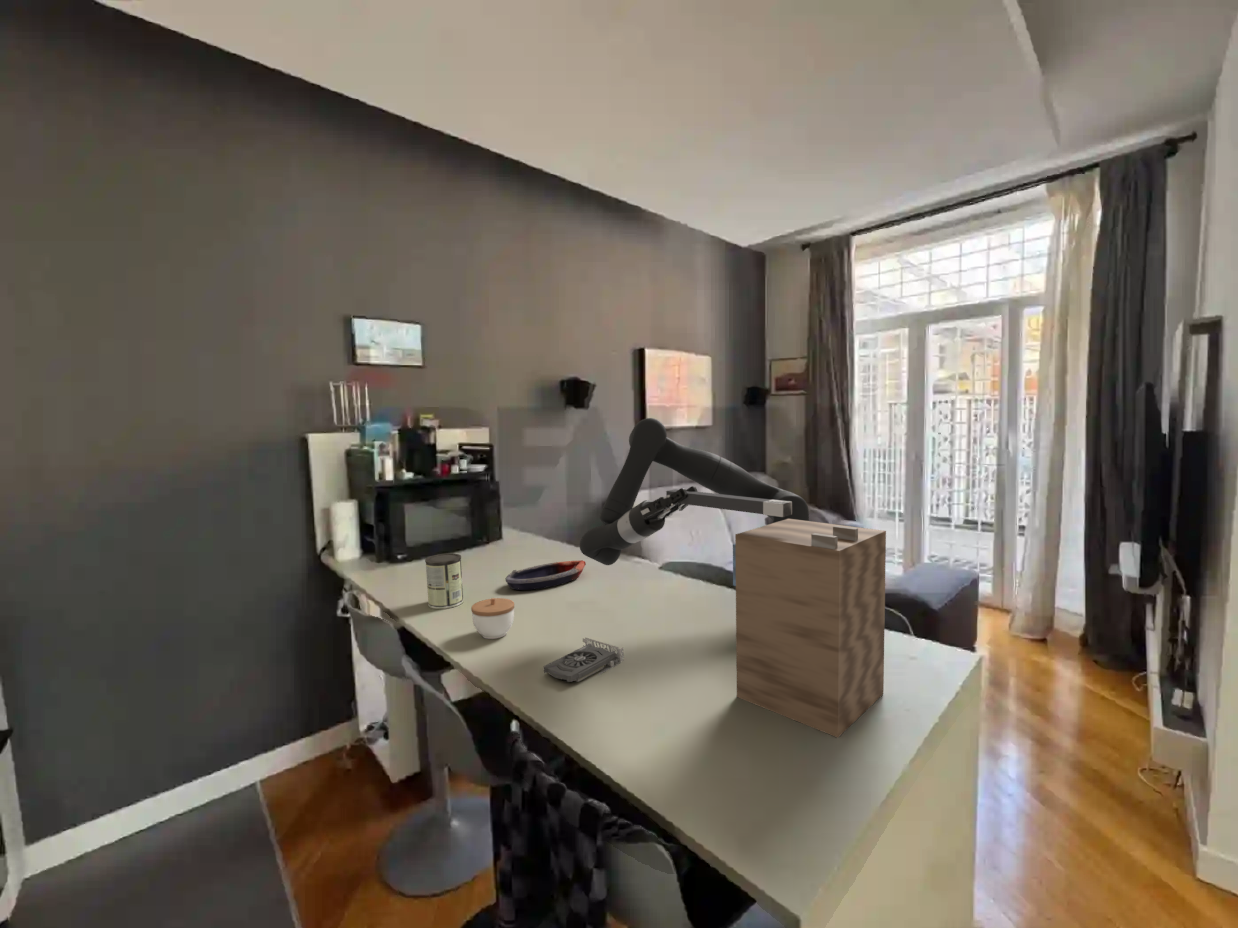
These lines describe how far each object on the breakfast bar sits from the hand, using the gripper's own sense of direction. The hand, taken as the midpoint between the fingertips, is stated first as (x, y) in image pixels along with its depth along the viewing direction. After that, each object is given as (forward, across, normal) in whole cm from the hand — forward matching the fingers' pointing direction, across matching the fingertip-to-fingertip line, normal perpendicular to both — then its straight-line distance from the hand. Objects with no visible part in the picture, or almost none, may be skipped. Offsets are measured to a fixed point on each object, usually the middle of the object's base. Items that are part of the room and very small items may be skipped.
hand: (690, 491), depth 118 cm
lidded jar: (-61, -20, +10) cm, 65 cm away
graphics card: (-35, -17, +25) cm, 47 cm away
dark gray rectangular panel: (+6, 0, +6) cm, 9 cm away
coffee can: (-89, -17, -6) cm, 91 cm away
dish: (-84, +17, -3) cm, 86 cm away
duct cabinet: (+2, +5, +46) cm, 46 cm away
